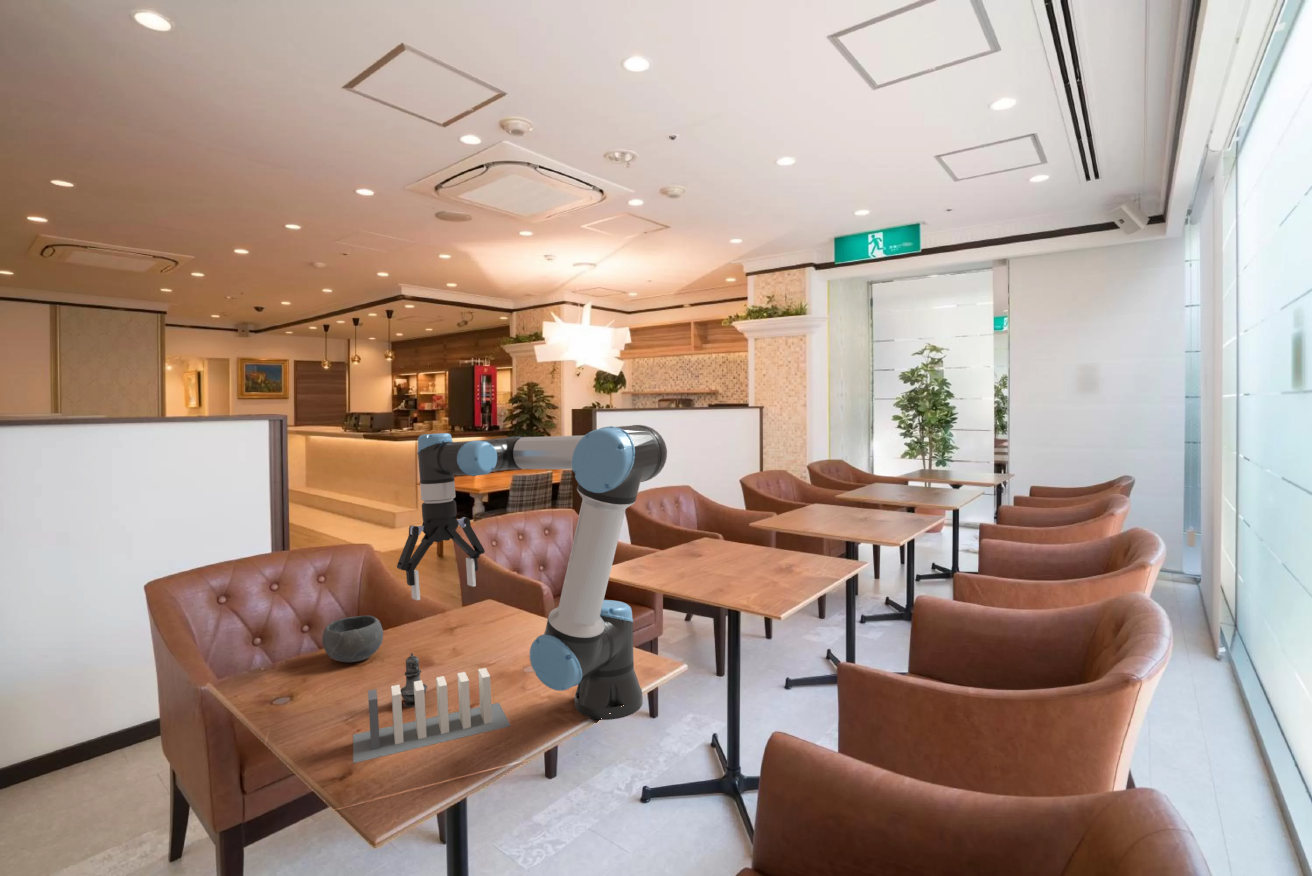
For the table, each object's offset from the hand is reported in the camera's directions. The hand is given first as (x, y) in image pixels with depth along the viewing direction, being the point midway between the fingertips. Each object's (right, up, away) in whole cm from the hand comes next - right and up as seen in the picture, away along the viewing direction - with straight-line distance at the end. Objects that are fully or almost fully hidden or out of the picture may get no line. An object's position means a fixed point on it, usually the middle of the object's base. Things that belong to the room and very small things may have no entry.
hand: (444, 592), depth 151 cm
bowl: (-33, -25, +26) cm, 49 cm away
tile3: (+4, -25, -14) cm, 29 cm away
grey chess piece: (-6, -25, -2) cm, 26 cm away
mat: (+2, -26, -15) cm, 30 cm away
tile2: (+8, -25, -12) cm, 29 cm away
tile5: (-4, -26, -18) cm, 31 cm away
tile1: (+12, -25, -10) cm, 29 cm away
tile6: (-8, -26, -20) cm, 33 cm away
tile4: (0, -25, -16) cm, 30 cm away
